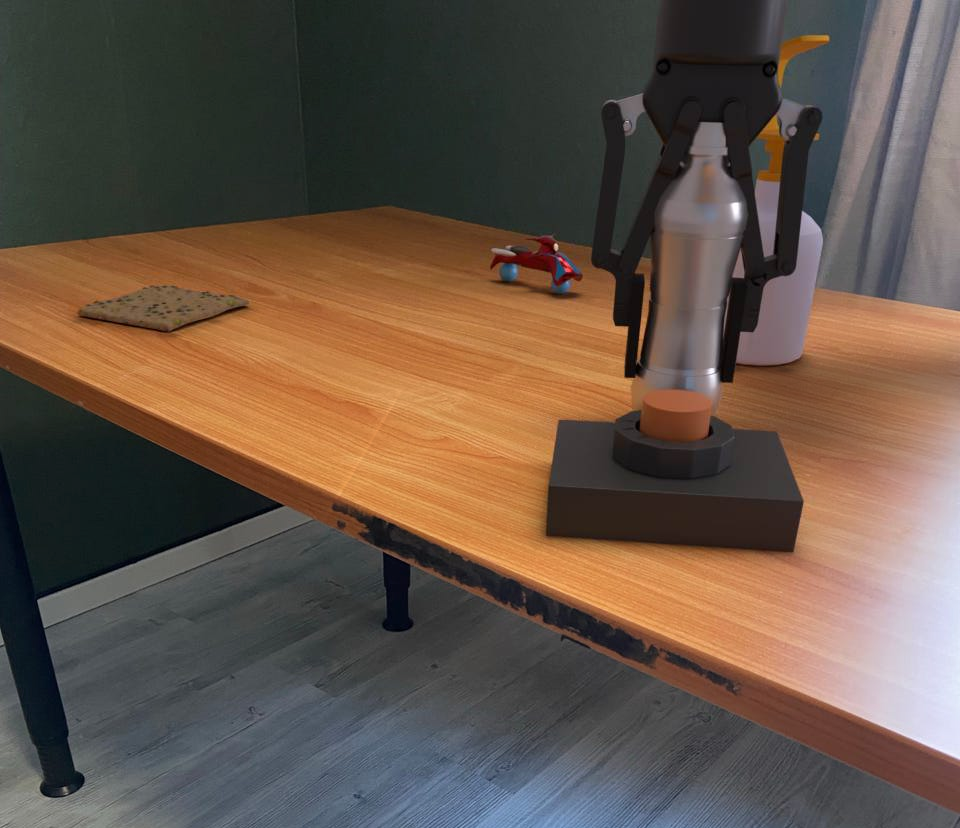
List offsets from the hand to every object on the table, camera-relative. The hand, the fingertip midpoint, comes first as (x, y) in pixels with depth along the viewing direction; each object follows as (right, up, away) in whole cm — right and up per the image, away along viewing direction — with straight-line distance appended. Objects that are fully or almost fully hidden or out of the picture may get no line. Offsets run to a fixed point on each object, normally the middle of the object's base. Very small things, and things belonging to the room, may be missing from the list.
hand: (677, 374), depth 71 cm
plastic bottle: (0, -3, +2) cm, 4 cm away
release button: (-3, -7, -12) cm, 14 cm away
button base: (-3, -11, -10) cm, 15 cm away
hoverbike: (-8, +20, +40) cm, 45 cm away
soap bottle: (+10, +7, +19) cm, 23 cm away
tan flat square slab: (-46, +14, +29) cm, 56 cm away
